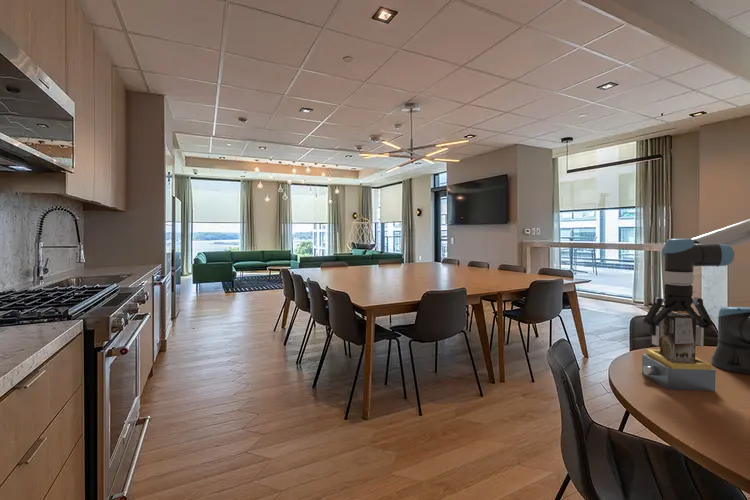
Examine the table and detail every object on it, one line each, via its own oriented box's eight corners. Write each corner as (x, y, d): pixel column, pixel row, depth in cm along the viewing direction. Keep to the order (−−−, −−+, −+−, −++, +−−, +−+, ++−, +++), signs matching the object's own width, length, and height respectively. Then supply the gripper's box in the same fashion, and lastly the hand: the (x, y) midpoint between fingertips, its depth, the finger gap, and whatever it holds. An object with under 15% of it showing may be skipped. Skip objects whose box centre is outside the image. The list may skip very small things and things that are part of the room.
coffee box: (696, 366, 121) (697, 318, 120) (674, 365, 122) (675, 317, 122) (679, 357, 130) (680, 312, 129) (658, 356, 131) (659, 311, 131)
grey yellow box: (684, 374, 133) (684, 350, 132) (715, 391, 118) (715, 364, 118) (633, 372, 135) (633, 349, 135) (657, 389, 121) (657, 362, 120)
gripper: (710, 282, 127) (709, 342, 128) (632, 282, 130) (631, 340, 131) (728, 285, 119) (726, 349, 120) (644, 285, 123) (643, 347, 124)
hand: (677, 345), depth 126 cm, fingers open, 13 cm apart
